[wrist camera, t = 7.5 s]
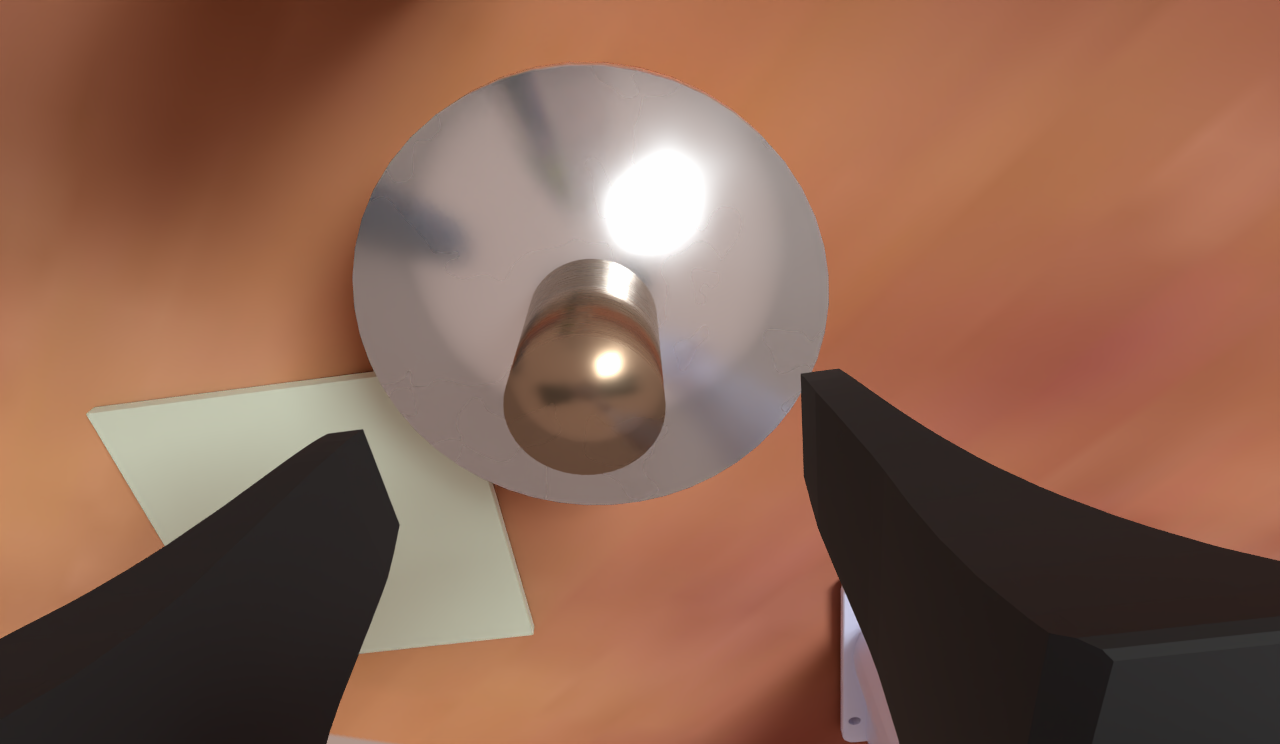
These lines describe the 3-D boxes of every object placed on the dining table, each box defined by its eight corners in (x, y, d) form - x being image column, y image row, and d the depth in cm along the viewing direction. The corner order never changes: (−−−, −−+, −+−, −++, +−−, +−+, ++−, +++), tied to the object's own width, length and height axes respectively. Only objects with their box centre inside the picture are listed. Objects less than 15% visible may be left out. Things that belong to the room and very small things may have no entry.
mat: (534, 626, 28) (533, 634, 28) (241, 659, 29) (236, 667, 29) (457, 360, 23) (454, 366, 22) (94, 407, 23) (86, 414, 23)
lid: (809, 473, 20) (858, 605, 16) (418, 498, 20) (363, 635, 16) (835, 42, 15) (918, 67, 11) (306, 81, 15) (181, 120, 11)
